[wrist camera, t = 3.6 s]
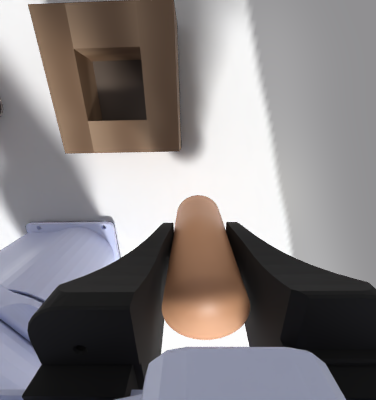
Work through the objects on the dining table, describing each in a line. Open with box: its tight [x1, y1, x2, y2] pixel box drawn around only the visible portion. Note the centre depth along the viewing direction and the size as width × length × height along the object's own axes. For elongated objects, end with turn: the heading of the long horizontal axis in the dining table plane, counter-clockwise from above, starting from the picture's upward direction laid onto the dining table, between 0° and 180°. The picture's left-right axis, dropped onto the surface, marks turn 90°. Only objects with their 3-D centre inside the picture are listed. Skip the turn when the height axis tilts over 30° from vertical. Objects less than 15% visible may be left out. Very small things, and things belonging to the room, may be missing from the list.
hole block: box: [28, 0, 181, 154], centre depth 14 cm, size 9×9×3 cm
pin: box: [162, 195, 250, 340], centre depth 11 cm, size 3×3×8 cm
